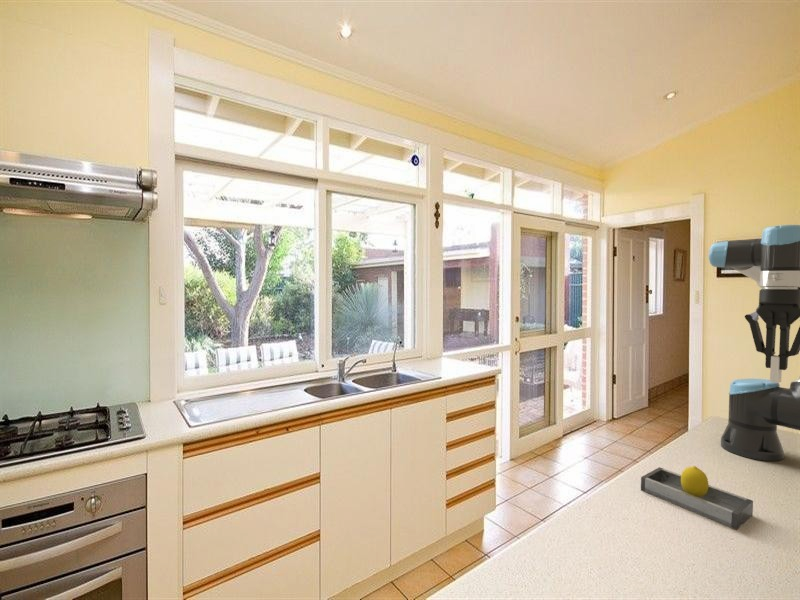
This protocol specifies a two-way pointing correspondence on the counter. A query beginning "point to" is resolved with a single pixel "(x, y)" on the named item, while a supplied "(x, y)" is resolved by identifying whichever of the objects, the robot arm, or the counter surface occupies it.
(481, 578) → the counter surface
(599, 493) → the counter surface
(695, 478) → the lemon
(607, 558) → the counter surface
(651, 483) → the tray
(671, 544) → the counter surface
